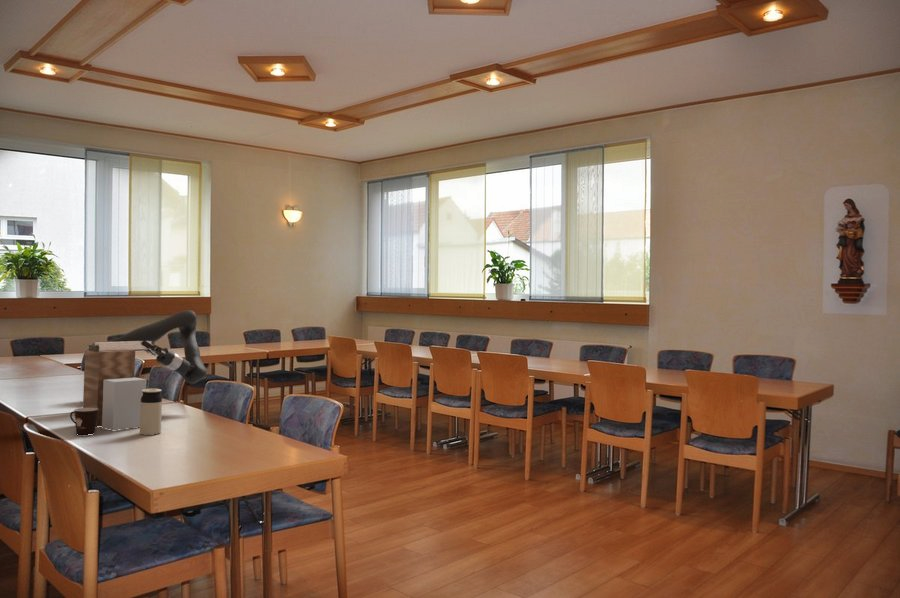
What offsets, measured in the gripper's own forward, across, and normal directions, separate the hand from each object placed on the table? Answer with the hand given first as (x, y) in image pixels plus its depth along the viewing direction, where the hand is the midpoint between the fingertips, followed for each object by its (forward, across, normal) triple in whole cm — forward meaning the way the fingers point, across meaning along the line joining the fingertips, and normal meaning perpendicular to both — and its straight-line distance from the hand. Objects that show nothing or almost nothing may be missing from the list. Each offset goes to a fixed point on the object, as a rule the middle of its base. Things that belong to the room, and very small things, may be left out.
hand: (140, 341), depth 311 cm
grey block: (-6, +13, +37) cm, 40 cm away
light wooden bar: (+5, 0, +7) cm, 8 cm away
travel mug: (-7, +32, +37) cm, 49 cm away
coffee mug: (+9, +14, +46) cm, 49 cm away
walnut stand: (-6, 0, +37) cm, 38 cm away
